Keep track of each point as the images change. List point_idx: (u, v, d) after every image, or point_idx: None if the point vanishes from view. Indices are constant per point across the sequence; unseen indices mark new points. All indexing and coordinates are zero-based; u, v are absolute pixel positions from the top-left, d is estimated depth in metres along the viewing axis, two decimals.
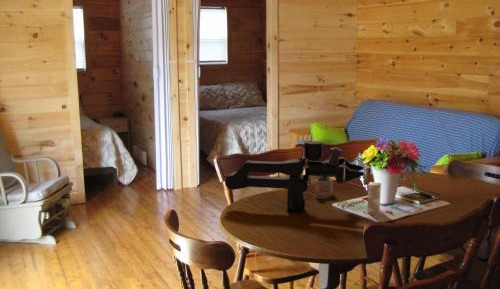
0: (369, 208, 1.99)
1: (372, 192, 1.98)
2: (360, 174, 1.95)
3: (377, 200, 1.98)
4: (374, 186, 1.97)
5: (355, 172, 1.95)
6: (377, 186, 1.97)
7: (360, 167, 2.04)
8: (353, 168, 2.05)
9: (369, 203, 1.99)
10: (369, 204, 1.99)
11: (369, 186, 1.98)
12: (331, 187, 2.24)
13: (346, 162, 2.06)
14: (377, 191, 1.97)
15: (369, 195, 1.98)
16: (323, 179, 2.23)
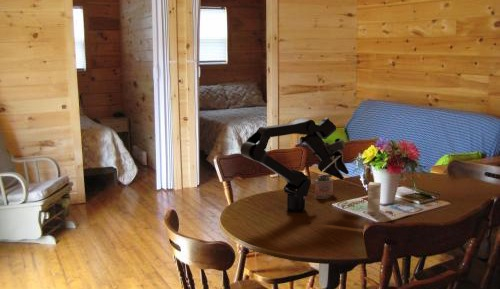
0: (369, 208, 1.99)
1: (372, 192, 1.98)
2: (339, 177, 1.99)
3: (377, 200, 1.98)
4: (374, 186, 1.97)
5: (337, 172, 1.99)
6: (377, 186, 1.97)
7: (346, 171, 2.08)
8: (341, 167, 2.09)
9: (369, 203, 1.99)
10: (369, 204, 1.99)
11: (369, 186, 1.98)
12: (331, 187, 2.24)
13: (340, 158, 2.09)
14: (377, 191, 1.97)
15: (369, 195, 1.98)
16: (323, 179, 2.23)
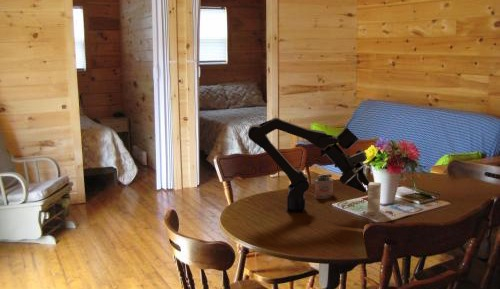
0: (369, 208, 1.99)
1: (372, 192, 1.98)
2: (362, 189, 1.96)
3: (377, 200, 1.98)
4: (374, 186, 1.97)
5: (360, 184, 1.95)
6: (377, 186, 1.97)
7: (367, 183, 2.05)
8: (362, 179, 2.05)
9: (369, 203, 1.99)
10: (369, 204, 1.99)
11: (369, 186, 1.98)
12: (331, 187, 2.24)
13: (361, 169, 2.05)
14: (377, 191, 1.97)
15: (369, 195, 1.98)
16: (323, 179, 2.23)
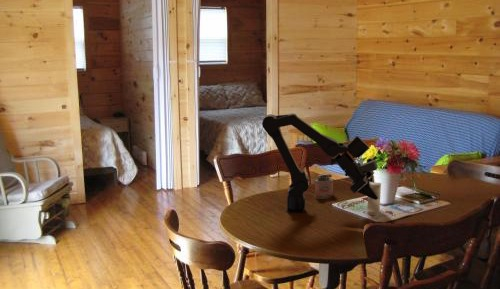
0: (369, 208, 1.99)
1: None
2: (373, 197, 1.97)
3: (377, 200, 1.98)
4: (374, 186, 1.97)
5: (371, 192, 1.97)
6: (377, 186, 1.97)
7: None
8: None
9: (369, 203, 1.99)
10: (369, 204, 1.99)
11: None
12: (331, 187, 2.24)
13: (370, 180, 2.02)
14: (377, 191, 1.97)
15: None
16: (323, 179, 2.23)
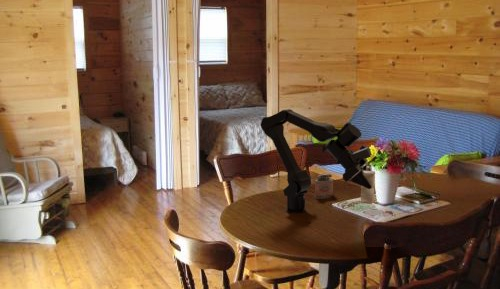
0: (362, 197, 1.89)
1: None
2: (367, 186, 1.87)
3: (371, 189, 1.87)
4: (368, 174, 1.87)
5: (365, 181, 1.86)
6: (371, 174, 1.86)
7: None
8: None
9: (363, 193, 1.88)
10: (362, 194, 1.88)
11: None
12: (331, 187, 2.24)
13: (364, 168, 1.91)
14: (371, 180, 1.86)
15: None
16: (323, 179, 2.23)
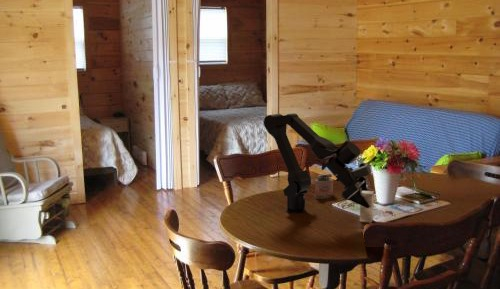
0: (361, 217, 1.90)
1: None
2: (365, 205, 1.86)
3: (370, 209, 1.88)
4: (367, 195, 1.88)
5: (363, 200, 1.85)
6: (370, 195, 1.87)
7: None
8: None
9: (362, 213, 1.89)
10: (361, 214, 1.89)
11: None
12: (331, 187, 2.24)
13: (364, 184, 1.94)
14: (370, 200, 1.88)
15: None
16: (323, 179, 2.23)
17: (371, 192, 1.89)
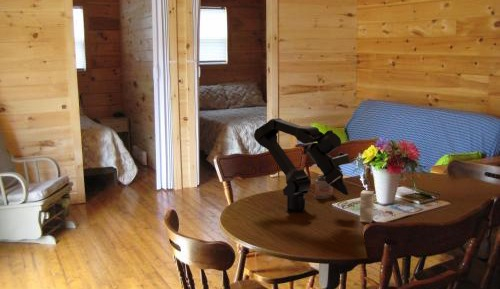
0: (361, 217, 1.90)
1: (364, 201, 1.88)
2: (344, 192, 1.89)
3: (370, 209, 1.88)
4: (367, 195, 1.88)
5: (343, 186, 1.89)
6: (370, 195, 1.87)
7: (345, 188, 1.99)
8: None
9: (362, 213, 1.89)
10: (361, 214, 1.89)
11: (361, 195, 1.88)
12: (331, 187, 2.24)
13: None
14: (370, 200, 1.88)
15: (361, 204, 1.89)
16: (323, 179, 2.23)
17: (371, 192, 1.89)
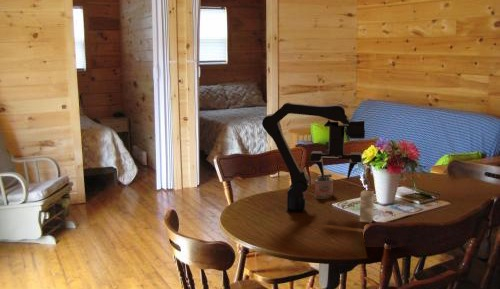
0: (361, 217, 1.90)
1: (364, 201, 1.88)
2: None
3: (370, 209, 1.88)
4: (367, 195, 1.88)
5: None
6: (370, 195, 1.87)
7: (323, 175, 2.03)
8: (323, 169, 2.02)
9: (362, 213, 1.89)
10: (361, 214, 1.89)
11: (361, 195, 1.88)
12: (331, 187, 2.24)
13: (322, 160, 2.04)
14: (370, 200, 1.88)
15: (361, 204, 1.89)
16: (323, 179, 2.23)
17: (371, 192, 1.89)
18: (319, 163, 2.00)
